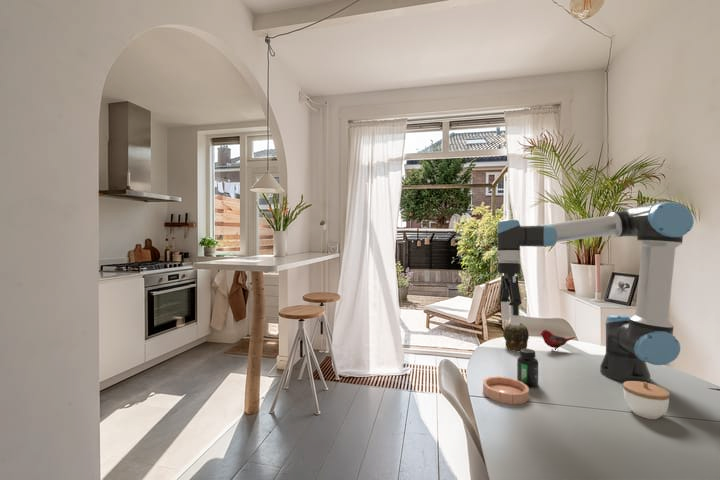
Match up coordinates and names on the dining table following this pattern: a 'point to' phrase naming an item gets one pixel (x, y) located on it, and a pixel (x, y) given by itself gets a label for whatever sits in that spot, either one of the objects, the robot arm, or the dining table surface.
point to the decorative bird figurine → (554, 339)
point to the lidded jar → (646, 399)
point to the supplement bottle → (527, 368)
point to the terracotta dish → (506, 390)
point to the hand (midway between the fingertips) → (509, 322)
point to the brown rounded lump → (516, 336)
